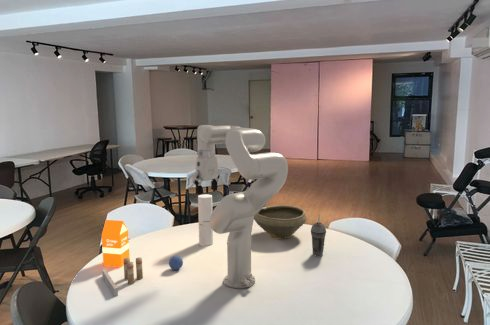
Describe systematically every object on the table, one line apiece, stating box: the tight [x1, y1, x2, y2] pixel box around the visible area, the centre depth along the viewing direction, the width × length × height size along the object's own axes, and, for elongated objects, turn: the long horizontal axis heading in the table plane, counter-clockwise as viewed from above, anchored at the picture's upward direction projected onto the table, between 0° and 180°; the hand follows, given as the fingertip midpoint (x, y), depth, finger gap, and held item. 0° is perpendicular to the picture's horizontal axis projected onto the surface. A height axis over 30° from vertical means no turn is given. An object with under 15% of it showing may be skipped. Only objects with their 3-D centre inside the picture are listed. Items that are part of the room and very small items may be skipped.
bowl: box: [254, 204, 307, 240], centre depth 210 cm, size 28×28×14 cm
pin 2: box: [127, 261, 135, 285], centre depth 156 cm, size 2×2×8 cm
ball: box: [168, 255, 184, 271], centre depth 169 cm, size 6×6×6 cm
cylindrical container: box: [197, 193, 214, 247], centre depth 198 cm, size 7×7×25 cm
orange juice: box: [101, 219, 130, 268], centre depth 175 cm, size 8×9×20 cm
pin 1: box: [123, 258, 131, 281], centre depth 160 cm, size 2×2×8 cm
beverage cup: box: [310, 213, 327, 257], centre depth 183 cm, size 7×7×20 cm
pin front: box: [135, 257, 144, 280], centre depth 160 cm, size 2×2×8 cm
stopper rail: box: [101, 268, 119, 297], centre depth 154 cm, size 20×1×3 cm, turn 32°
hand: (206, 192), depth 172 cm, fingers open, 9 cm apart
